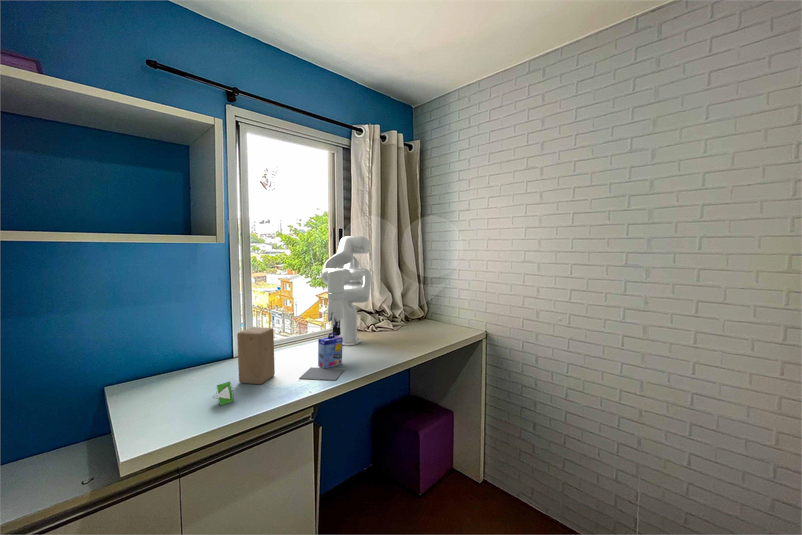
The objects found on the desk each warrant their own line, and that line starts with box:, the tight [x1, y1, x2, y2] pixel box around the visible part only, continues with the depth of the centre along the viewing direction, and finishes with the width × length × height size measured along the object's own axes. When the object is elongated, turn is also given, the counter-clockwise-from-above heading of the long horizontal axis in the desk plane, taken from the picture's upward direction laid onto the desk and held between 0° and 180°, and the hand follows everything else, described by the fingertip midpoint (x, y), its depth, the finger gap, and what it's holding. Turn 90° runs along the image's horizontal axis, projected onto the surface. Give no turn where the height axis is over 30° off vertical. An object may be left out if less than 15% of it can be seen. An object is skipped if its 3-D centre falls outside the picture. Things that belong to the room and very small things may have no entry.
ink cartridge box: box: [317, 332, 344, 369], centre depth 150 cm, size 10×6×14 cm, turn 138°
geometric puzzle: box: [212, 381, 239, 406], centre depth 115 cm, size 7×7×8 cm
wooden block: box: [236, 326, 276, 385], centre depth 134 cm, size 10×10×20 cm
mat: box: [298, 367, 345, 382], centre depth 140 cm, size 12×15×1 cm
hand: (336, 335), depth 159 cm, fingers closed
